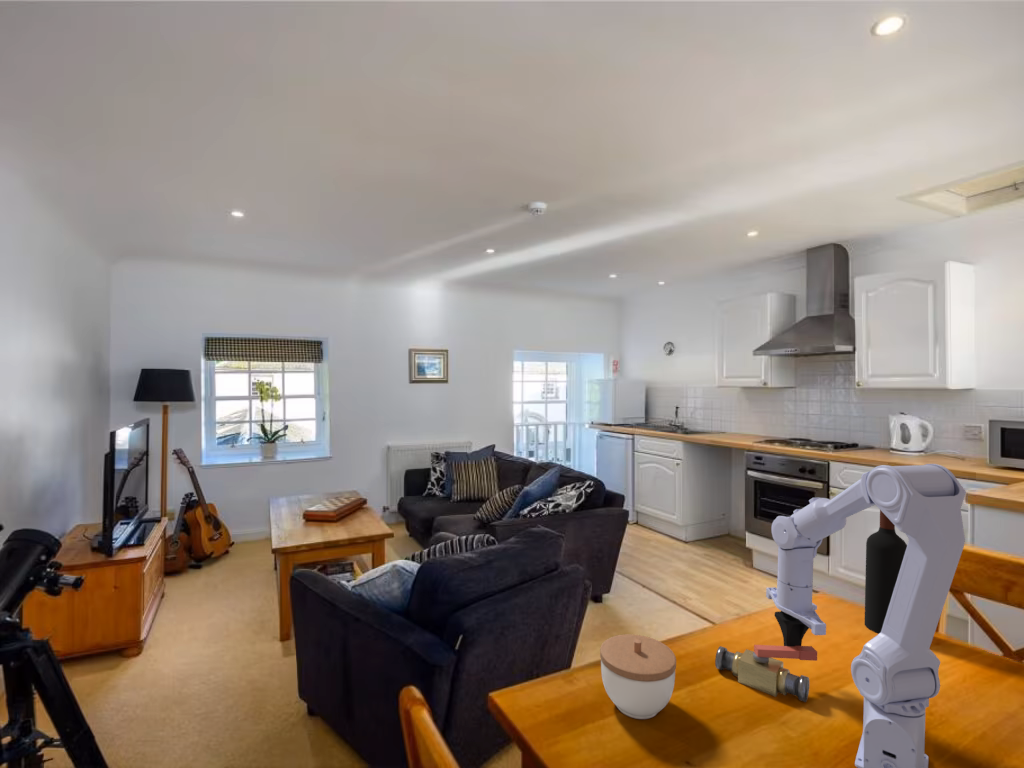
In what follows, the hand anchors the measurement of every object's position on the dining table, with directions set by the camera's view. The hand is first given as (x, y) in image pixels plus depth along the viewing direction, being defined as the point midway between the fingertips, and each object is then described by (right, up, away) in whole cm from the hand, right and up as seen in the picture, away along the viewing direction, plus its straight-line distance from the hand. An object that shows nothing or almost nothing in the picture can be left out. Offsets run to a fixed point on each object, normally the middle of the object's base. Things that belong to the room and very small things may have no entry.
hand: (792, 653), depth 94 cm
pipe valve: (-6, -5, -1) cm, 8 cm away
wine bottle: (+32, -5, +20) cm, 38 cm away
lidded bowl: (-31, -5, -7) cm, 32 cm away
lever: (-2, -1, -1) cm, 3 cm away
